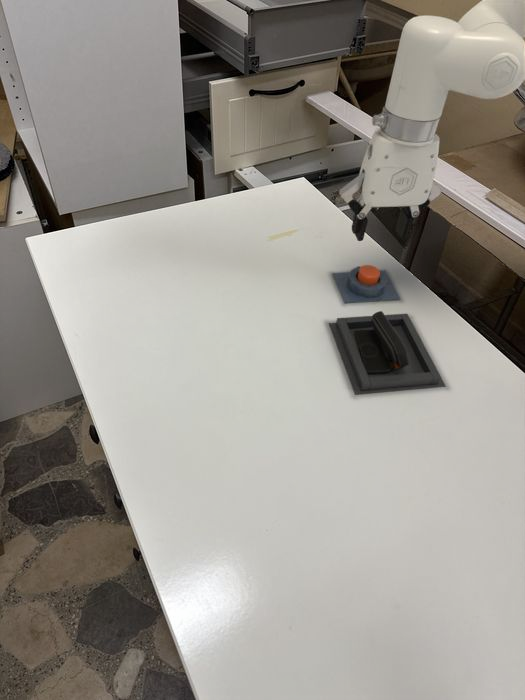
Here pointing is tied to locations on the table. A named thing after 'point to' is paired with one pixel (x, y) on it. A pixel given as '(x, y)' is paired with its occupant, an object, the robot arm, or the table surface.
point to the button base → (364, 288)
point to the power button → (368, 275)
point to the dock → (408, 378)
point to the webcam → (381, 346)
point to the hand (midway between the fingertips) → (379, 234)
